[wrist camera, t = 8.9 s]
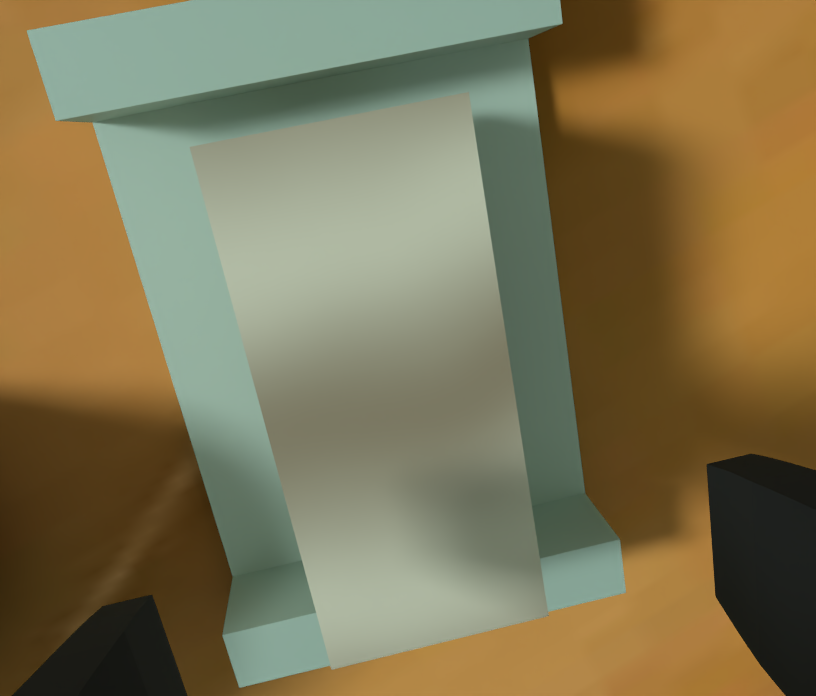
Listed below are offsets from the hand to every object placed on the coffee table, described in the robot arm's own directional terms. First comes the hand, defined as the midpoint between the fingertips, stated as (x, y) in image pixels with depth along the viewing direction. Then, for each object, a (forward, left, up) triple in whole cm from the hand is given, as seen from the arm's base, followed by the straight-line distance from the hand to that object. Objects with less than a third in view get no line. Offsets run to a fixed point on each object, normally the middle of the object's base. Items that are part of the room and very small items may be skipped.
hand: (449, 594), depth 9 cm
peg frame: (+1, 0, -10) cm, 10 cm away
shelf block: (+1, 0, -8) cm, 8 cm away
